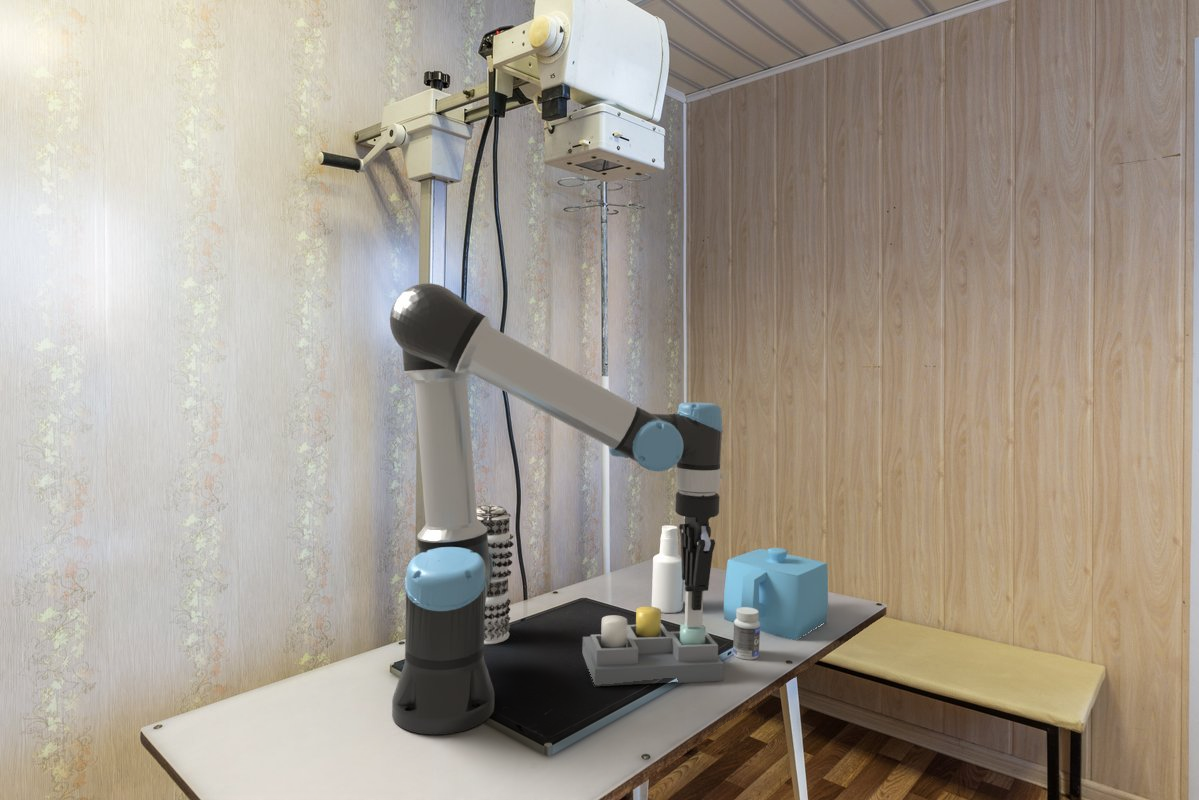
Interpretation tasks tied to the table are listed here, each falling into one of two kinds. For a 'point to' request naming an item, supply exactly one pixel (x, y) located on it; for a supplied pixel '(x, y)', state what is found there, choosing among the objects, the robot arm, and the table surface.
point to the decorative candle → (497, 572)
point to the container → (778, 591)
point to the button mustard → (648, 621)
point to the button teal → (692, 635)
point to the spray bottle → (668, 573)
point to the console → (652, 659)
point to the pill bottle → (746, 633)
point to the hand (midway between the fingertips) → (693, 625)
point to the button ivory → (614, 631)
